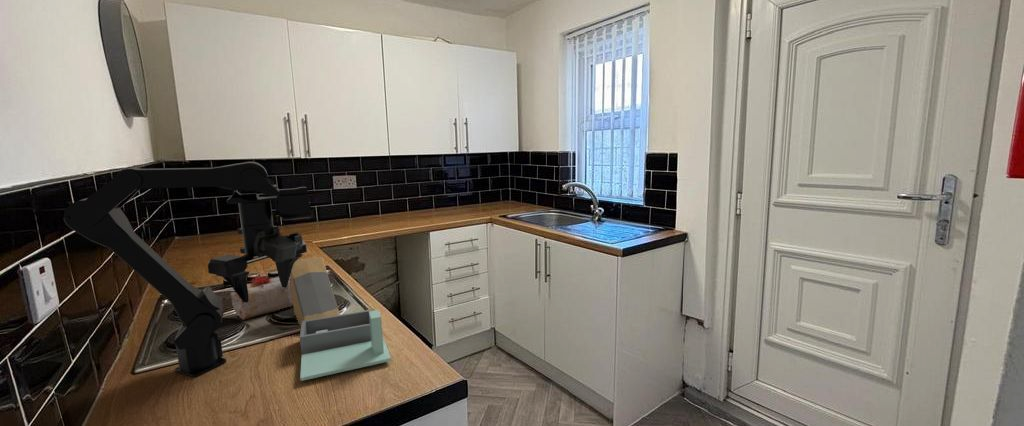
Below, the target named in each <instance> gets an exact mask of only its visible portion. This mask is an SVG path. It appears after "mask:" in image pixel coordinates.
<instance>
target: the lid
mask: <svg viewBox="0 0 1024 426" xmlns="http://www.w3.org/2000/svg"><path fill="white" fill-rule="evenodd" d="M369 321H370V334H371V341H368V342H363V343H358V344H353V345H348V346H343V347H338V348H333V349H328V350H323V351H318V352H313V353H308V354H303V355H302V354H301V359H300V361H301V363H300V374H299V375H300V382H303V381H307V380H312V379H313V380H314V379H317V378H322V377H324V376H325V377H326V376H330V375H335V374H339V373H343V372H348V371H352V370H357V369H360V368H365V367H371V366H375V365H379V364H384V363H387V362H391V361H392V357H391V355H390V351H389V349H388V347H387V344H386V340H385V338H384V337H383V336H384V335H383V323H382V316H381V313H380V310H378V309H375V311H369Z"/></svg>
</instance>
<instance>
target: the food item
mask: <svg viewBox="0 0 1024 426" xmlns="http://www.w3.org/2000/svg"><path fill="white" fill-rule="evenodd" d="M247 288H248V302H247V303H246V302H243V301H242V300H241V298H240V297H239V296H238V294H237V293H236V292H235V291H231V293H230V297H231V304H232V307H233V310H234V312H235V314H236V315H237V316H239V318H240V319H241V320H243V321H244V320H248V319H252V318H255V317H258V316H261V315H266V314H269V313H274V312H278V311H281V310H280V309H283V308H286V309H288V308H287V307H290V306H293V298H292V291H291V282H290V279H289V281H288V285H287V287H286V288H284V287H282V285H281V282H280V279H279V276H278V277H271V278H269V277H268V276H264V275H263V276H262V275H261V274H258V275H256V276H255V277H253V278H252V279H251V282H250V283H247ZM293 307H294V306H293ZM290 308H291V307H290ZM277 310H278V311H277ZM283 310H284V309H283Z"/></svg>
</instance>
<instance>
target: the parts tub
mask: <svg viewBox="0 0 1024 426" xmlns="http://www.w3.org/2000/svg"><path fill="white" fill-rule="evenodd" d="M375 310H376V308H373V309H367V310H360V311H356V312H355V311H353V312H348V313H343V314H340V315H335V316H329V317H323V318H317V319H311V320H305V321H302V325H301V326H300V334H299V343H300V344H299V345H300V351H301V356H302V355H303V354H308V353H313V352H318V351H323V350H328V349H333V348H338V347H343V346H348V345H353V344H358V343H363V342H368V341H371V334H370V321H369V311H375Z"/></svg>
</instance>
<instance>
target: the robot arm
mask: <svg viewBox="0 0 1024 426" xmlns="http://www.w3.org/2000/svg"><path fill="white" fill-rule="evenodd" d="M268 176H269V175H268V172H267V170H266V168H265V167H264V166H263V165H262V164H260V163H259V162H256V161H245V162H240V163H232V164H228V165H227V164H226V165H222V166H221V165H220V166H215V167H183V168H182V167H180V168H178V167H176V168H175V167H173V168H140V167H130V168H129V167H128V168H124V169H121V170H119V171H118V173H116V174H115V176H114V177H113V178H112V179H110V180H109V181H108V182H106V183H105V184H104V185H103V186H100V188H98V190H96V191H95V192H93V193H92V194H91V195H89V197H86V198H83V199H80V200H77V201H74V202H71V204H69V205H68V206H67V207H66V209H65V210H64V213H63V219H62V220H63V222H64V223H65V225H66V226H67V227H68V228H70V229H71V230H72V231H74V232H75V233H77V234H79V235H81V236H82V237H83V238H85V239H87V240H88V241H90V242H93V243H96V244H98V245H100V246H102V247H105V248H107V249H109V250H110V251H112V252H113V254H115V255H116V256H117V257H118V258H120V260H122V261H123V262H124V263H125V264H126V265H127V266H128V267H130V268H131V269H132V270H133V271H134V273H137V274H138V276H140V277H141V278H142V279H143V280H144V281H146V282H147V283H148V284H149V285H150V286H151V287H152V288H154V290H155V291H157V292H158V293H159V294H161V296H163V297H164V298H165V299H166V300H167V301H168V302H170V303H171V306H172V307H173V309H174V311H175V313H176V315H177V317H178V319H179V320H180V322H181V323H182V324H181V325H180V327H179V330H178V332H177V333H176V336H175V338H174V340H173V343H174V345H175V349H176V356H177V359H178V360H177V361H178V367H175V368H174V372H175V373H180V374H184V375H186V376H188V377H193V378H195V377H199V376H201V375H203V374H204V373H207V372H208V371H211V370H213V369H215V368H217V367H218V366H220V365H223V364H225V363H227V358H225V357H223V356H224V354H223V347H222V340H221V339H222V338H220V337H219V334H218V332H216V331H217V330H218V329H219V328H220V327H221V324H222V321H223V317H224V314H225V306H224V303H223V297H221V296H218V295H217V294H216V293H215V292H214V291H213V289H212V288H211V287H210V286H209V285H207V286H206V287H205V288H203V290H202V289H201V288H197V287H195V286H193V285H192V284H191V283H189V282H188V280H186V279H185V278H184V277H183V276H182V275H181V274H180V273H178V271H176V270H175V268H173V267H172V266H171V265H170V264H169V262H167V261H166V260H164V258H162V256H160V255H159V254H158V253H157V252H156V251H155V250H153V248H152V247H150V246H149V244H147V243H146V242H145V241H144V240H143V239H142V238H141V237H140V236H139V235H138V234H136V232H135V230H134V229H133V227H132V224H131V223H130V221H129V219H128V217H127V216H126V214H125V213H124V212H123V210H122V209H121V208H123V206H124V205H126V204H127V203H128V202H129V201H130V200H131V199H132V198H133V197H134V196H135V195H136V194H137V193H138V192H139V191H140V190H156V189H157V190H161V189H163V190H164V189H165V190H166V189H191V188H218V189H223V190H224V189H226V190H231V191H233V193H232V195H231V196H230V197H228V199H227V200H226V203H227V204H228V205H231V204H238V211H239V219H240V228H237V234H238V235H242V243H243V247H241V248H239V252H240V254H244V255H236V254H235V255H233V254H225V255H221V256H217V257H214V258H210V260H209V262H208V264H207V270H208V271H207V272H208V274H210V275H211V274H212V275H216V276H217V277H222V278H223V279H224V280H225V281H226V282H227V283H228V284H229V285H230V286H231V288H232V289H233V290H234V292H236V293H237V294H238V296H239V297H240V298H241V300H242V301H243V302H246V303H247V302H248V288H247V284H248V282H247V278H248V276H249V274H250V271H246V270H247V268H248V264H249V265H250V264H253V263H256V262H259V261H263V260H266V259H271V260H272V262H274V263H275V267H276V271H277V276H278V277H279V279H280V282H281V285H282V287H284V288H286V287H287V285H288V281H289V280H290V274H291V270H292V267H293V265H294V263H295V261H297V260H300V258H302V257H303V255H304V253H308V250H307V248H308V247H307V244H306V241H304V240H303V237H302V234H301V233H299V232H298V231H297V232H292V233H290V234H286V235H282V234H281V231H280V228H279V226H278V225H274V218H273V211H272V210H273V209H272V203H271V202H272V201H274V209H275V210H274V211H275V216H276V217H279V218H282V221H289V220H290V221H291V220H301V219H311V218H312V205H311V202H310V197H309V189H308V187H306V186H299V187H296V188H295V187H294V188H282V189H279V188H278V186H277V184H275V183H274V182H272V180H270V179H269V178H268ZM239 191H240V192H239ZM241 192H250V193H241ZM257 192H259V193H260V194H263V195H265V196H258V193H257Z"/></svg>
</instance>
